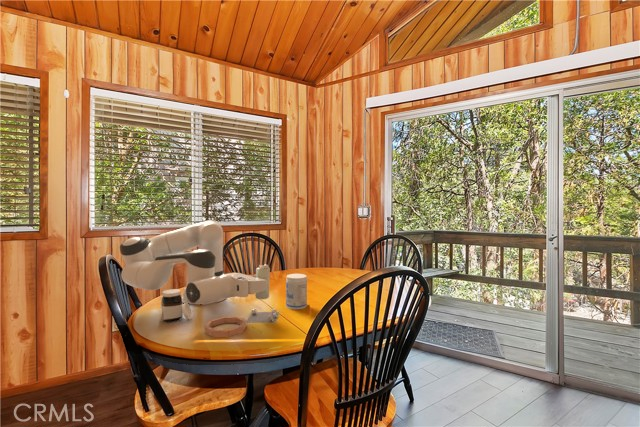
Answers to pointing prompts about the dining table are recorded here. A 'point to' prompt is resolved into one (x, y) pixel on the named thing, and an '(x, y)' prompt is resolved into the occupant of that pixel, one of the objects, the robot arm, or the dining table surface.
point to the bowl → (225, 332)
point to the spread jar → (174, 306)
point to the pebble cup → (262, 278)
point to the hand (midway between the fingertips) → (262, 278)
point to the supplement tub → (296, 291)
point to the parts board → (263, 316)
